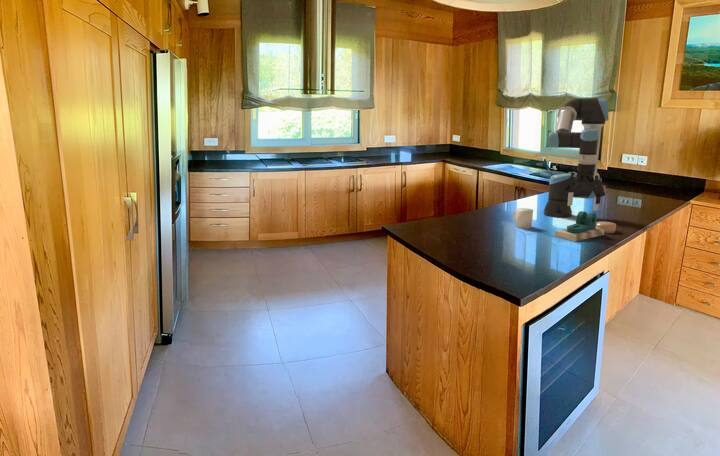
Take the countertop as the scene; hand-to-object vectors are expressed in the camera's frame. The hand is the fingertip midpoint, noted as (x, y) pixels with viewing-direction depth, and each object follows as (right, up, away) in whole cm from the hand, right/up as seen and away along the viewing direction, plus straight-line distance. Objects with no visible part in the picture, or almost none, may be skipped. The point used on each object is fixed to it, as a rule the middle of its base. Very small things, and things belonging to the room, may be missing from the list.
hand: (582, 208), depth 238 cm
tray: (0, -13, +3) cm, 13 cm away
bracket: (0, -11, +2) cm, 11 cm away
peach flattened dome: (+17, -11, +12) cm, 23 cm away
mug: (-22, -9, +22) cm, 32 cm away
